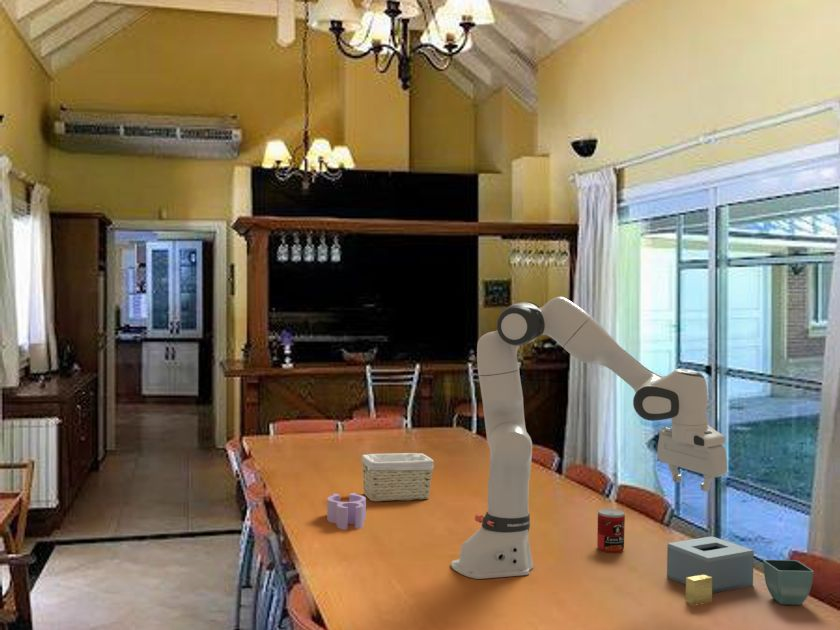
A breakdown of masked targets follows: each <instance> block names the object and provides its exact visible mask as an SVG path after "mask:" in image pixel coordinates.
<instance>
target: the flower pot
mask: <svg viewBox="0 0 840 630" xmlns="http://www.w3.org/2000/svg"><path fill="white" fill-rule="evenodd" d="M762 564H763V574H764V580H765V585H766V588H767V590H768V592H769V594H770V597H771V598H772V599H773V600H775V601H776V602H777V603H778V604H781V605H783V604H784V605H793V606H794V605H795V606H799V605H800V606H801V605H803V603H804V602H805V601H806V600H807V598H808V596H809V595H810V592H811V588H812V584H813V579H814V573H815V571H814V570H813V569H811V567H810V568H809V567H808V566H807V565H806V564H804V563H802V562H800V561H799V560H796V559H795V560H794V559H791V560H790V559H785V560H784V559H763V560H762Z"/></svg>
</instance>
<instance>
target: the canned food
mask: <svg viewBox="0 0 840 630" xmlns="http://www.w3.org/2000/svg"><path fill="white" fill-rule="evenodd" d="M625 516H626V514H625V512H624V511H622V510H620V509H616V508H601V509H599V510H598V511H597V537H596V538H597V539H596V542H597V543H596V544H597V549H598V550H599V551H601V552H603V553H608V554H618V553H622V552H623V551H624V549H625V527H626V525H625V524H626V523H625V522H626V521H625V519H626V518H625Z"/></svg>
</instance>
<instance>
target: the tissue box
mask: <svg viewBox="0 0 840 630" xmlns="http://www.w3.org/2000/svg"><path fill="white" fill-rule="evenodd" d="M754 554H755V550H753V549H751V548H748V547H746V546H742V545H739V544H737V543H736V544H735V543H734V542H730V541H728V540H724V539H721V538H718V537H716V536H712V535H711V536H705V537H701V538H700V537H698V538H694V539H687V540H680V541H674V542H667V554H666V555H667V559H666V560H667V561H666V564H667V565H666V578H667V577H668V579H669V580H673V581H674V580H675V581H674V582H677V583H679V582H680V584H681V585H684V584H685V585H684V586H686V578H687V577H693V576H698V575H703V574H705V575H707V576H710V577H712V594H715V593H721V592H726V591H729V590H736V589H740V588H745V587H751V586H753V585H754V562H755V561H754V558H755V555H754ZM750 585H751V586H750ZM725 590H726V591H725ZM720 591H721V592H720Z"/></svg>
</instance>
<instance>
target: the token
mask: <svg viewBox="0 0 840 630" xmlns="http://www.w3.org/2000/svg"><path fill="white" fill-rule="evenodd" d="M686 602H687V603H686ZM706 602H709V603H712V602H713V593H712V577H710V576H707V575H705V574H703V575H698V576H693V577H687V578H686V585H685V603H686V604H689V605H691V604H692V605H691V606H693V605H694V606H697V605H696V604H699V605H702V604H701V603H704V604H707V603H706Z"/></svg>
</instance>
